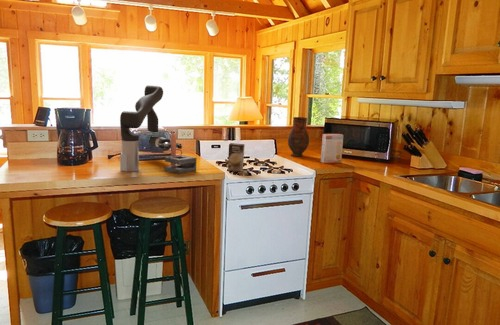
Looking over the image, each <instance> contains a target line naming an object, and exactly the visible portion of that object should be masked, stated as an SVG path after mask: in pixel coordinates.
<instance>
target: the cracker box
mask: <svg viewBox="0 0 500 325" xmlns="http://www.w3.org/2000/svg"><path fill="white" fill-rule="evenodd" d="M321 137H322V139H321V140H322V141H321V150H320V151H321V153H320V163H322V164H342V156H343V145H344V134H341V133H323V134H322V136H321Z"/></svg>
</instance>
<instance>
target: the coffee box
mask: <svg viewBox="0 0 500 325" xmlns="http://www.w3.org/2000/svg"><path fill="white" fill-rule="evenodd" d="M244 158H245V144H244V143H234V142H233V143H232V142H231V143H229V145H228V159H227V171H231V172H239V173H240V172H243V170H244Z"/></svg>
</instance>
